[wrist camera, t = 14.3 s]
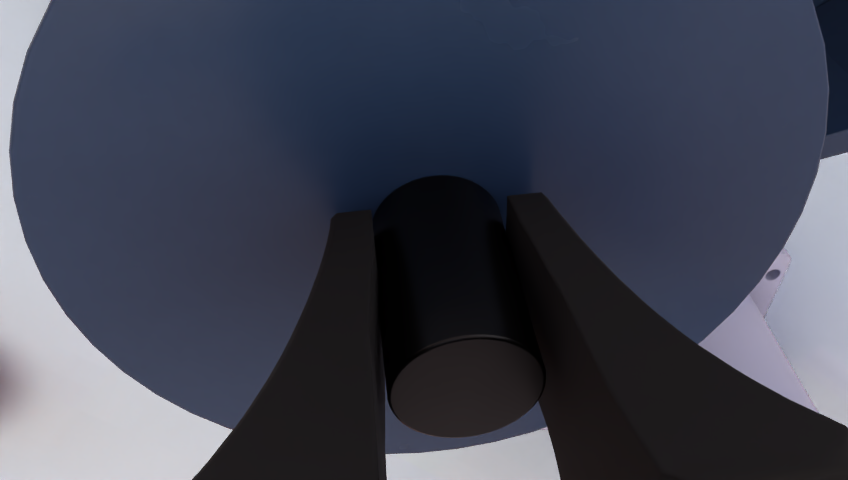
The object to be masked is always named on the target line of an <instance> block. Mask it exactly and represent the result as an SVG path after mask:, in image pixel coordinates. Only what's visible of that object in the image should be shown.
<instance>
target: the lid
mask: <svg viewBox="0 0 848 480" xmlns="http://www.w3.org/2000/svg"><path fill="white" fill-rule="evenodd" d="M828 99H829V83H828V72H827V62H826V52H825V42H824V39H823V35H822V32H821V28H820V24H819V21H818V17H817V14H816V10H815V7H814V3H813V0H51V1H50V3H49V5H48V8H47V10H46V12H45V14H44V16H43V18H42V20H41V22H40V25H39V27H38V29H37V31H36V33H35V35H34V37H33V39H32V42H31V44H30V46H29V48H28V50H27V53H26V56H25V60H24V64H23V68H22V71H21V75H20V79H19V82H18V86H17V90H16V94H15V97H14V101H13V111H12V123H11V134H10V146H9V155H10V166H11V176H12V187H13V197H14V201H15V204H16V208H17V212H18V216H19V219H20V223H21V227H22V230H23V234H24V238H25V241H26V243H27V246H28V248H29V250H30V252H31V254H32V257H33V259H34V261H35V263H36V265H37V267H38V270H39V272H40V274H41V276H42V278H43V280H44V282H45V283H46V285H47V286H48V288H49V290H50V291H51V293H52V294H53V296H54V297H55V299H56V300H57V302H58V303H59V305H60V306H61V308H62V309H63V311H64V312H65V314H66V315H67V316H68V317H69V319H70V320H71V321H72V322H73V323H74V324H75V325H76V327H77V328H78V329H79V330H80V331H81V332H82V333H83V334H84V336H85V337H86V338H87V339H88V340H89V341H90V342H91V344H92V345H93V346H94V347H96V348H97V349H98V350H99V351H100V352H101V353H102V354H104V355H105V356H106V357H107V358H108V359H109V360H110V361H112V362H113V363H114V364H115V365H116V366H117V367H118V368H120V369H121V370H122V371H123V372H124V373H126V374H127V375H129V376H130V377H132V378H133V379H135V380H136V381H137V382H139V383H140V384H142V385H143V386H145V387H146V388H148V389H149V390H151V391H152V392H154V393H155V394H157V395H158V396H160V397H162V398H164V399H166V400H168V401H170V402H171V403H173V404H175V405H177V406H179V407H181V408H183V409H185V410H186V411H188V412H190V413H192V414H195V415H197V416H200V417H202V418H204V419H207V420H209V421H212V422H214V423H217V424H219V425H221V426H224V427H226V428H229V429H232V430H233V429H234V428H235V427H236V425H237V424H238V423H239V421H240V420H241V419H242V417H243V416H244V414H245V413H246V411H247V410H248V409H249V407H250V406H251V404H252V403H253V401H254V399H255V398H256V396H257V395H258V393H259V392H260V390H261V389H262V387H263V386H264V384H265V382H266V381H267V379H268V378H269V376H270V374H271V372H272V371H273V369H274V367H275V366H276V364H277V362H278V360H279V358H280V357H281V355H282V353H283V351H284V349H285V347H286V345H287V343H288V341H289V340H290V338H291V336H292V333H293V331H294V329H295V327H296V325H297V322H298V320H299V318H300V316H301V314H302V311H303V309H304V307H305V305H306V302H307V300H308V298H309V295H310V292H311V289H312V287H313V284H314V281H315V279H316V276H317V273H318V271H319V268H320V264H321V261H322V258H323V255H324V251H325V247H326V244H327V239H328V234H329V229H330V221H331V218H332V217H333V216H334V215H335V214H336V213H343V212H353V211H363V210H371V213H372V223H373V232H374V242H375V251H376V261H377V270H378V299H379V320H380V330H381V340H382V350H383V360H384V370H385V454H399V453H422V452H431V451H441V450H450V449H458V448H464V447H469V446H474V445H480V444H485V443H491V442H496V441H500V440H503V439H507V438H511V437H515V436H519V435H522V434H526V433H530V432H534V431H536V430H539V429H542V428H545V427H547V425H546V422H545V419H544V416H543V414H542V411H541V408H540V405H539V402H538V400H539V399H540V397H541V395H542V393H543V390H544V387H545V384H546V369H545V366H544V362H543V359H542V355H541V352H540V348H539V345H538V342H537V338H536V335H535V331H534V328H533V324H532V321H531V317H530V314H529V311H528V307H527V304H526V300H525V297H524V293H523V290H522V286H521V283H520V280H519V276H518V273H517V269H516V266H515V262H514V259H513V255H512V252H511V249H510V245H509V242H508V238H507V235H506V214H507V196H510V195H519V194H529V193H539V192H542V193H543V194H544V195H545V196H546V197H547V198H548V199H549V200H550V202H551V203H552V204H553V205H554V207H555V208H556V209H557V210H558V212H559V213H560V214H561V215H562V217H563V218H564V219H565V220H566V221H567V223H568V224H569V225H570V226H571V227H572V228H573V230H574V231H575V232H576V233H577V234H578V235H579V236H580V238H581V239H582V240H583V241H584V242H585V243H586V244H587V245H588V247H589V248H590V249H591V250H592V251H593V252H594V253H595V254H596V255H597V256H598V257H599V258H600V259H601V260H602V261H603V262H604V263H605V265H606V266H607V267H608V268H609V269H610V270H611V271H612V272H613V273H614V274H615V275H616V276H617V277H618V278H619V279H620V280H621V281H622V282H623V283H624V284H625V285H627V286H628V287H629V288H630V289H631V290H632V291H633V292H634V293H635V294H636V295H637V296H638V297H640V298H641V299H642V300H643V301H644V302H645V303H646V304H647V305H648V306H650V307H651V308H652V309H653V310H654V311H655V312H657V313H658V314H659V315H660V316H661V317H663V318H664V319H665V320H666V321H668V322H669V323H670V324H671V325H673V326H674V327H675V328H677V329H678V330H679V331H680V332H682V333H683V334H684V335H686V336H687V337H688V338H690V339H691V340H693V341H694V342H695V343H697V344H699V343H700V342H702V341H703V340H704V339H705V338H706V337H707V336H708V335H709V334H711V333H712V332H713V331H714V330H715V329H716V328H717V327H718V326H719V325H720V324H721V323H722V322H723V321H724V320H725V319H727V318H728V317H729V316H730V315H731V314H732V313H733V312H734V311H735V310H736V308H737V307H738V306H739V305H740V304H741V303H742V302H743V300H744V299H745V298H746V297H747V296H748V295H749V294H750V292H751V291H752V290H753V289H754V288H755V287H756V286H757V284H758V283H759V282H760V281H761V279H762V278H763V276H764V275H765V274H766V272H767V271H768V269H769V268H770V266H771V265H772V264H773V262H774V261H775V259H776V258H777V256H778V255H779V253H780V252H781V251H782V249H783V247H784V246H785V244H786V242H787V240H788V238H789V236H790V234H791V233H792V231H793V229H794V227H795V225H796V223H797V221H798V219H799V218H800V216H801V214H802V212H803V209H804V206H805V204H806V201H807V199H808V196H809V193H810V191H811V188H812V185H813V183H814V180H815V177H816V175H817V171H818V167H819V162H820V158H821V153H822V149H823V144H824V140H825V136H826V128H827V113H828Z"/></svg>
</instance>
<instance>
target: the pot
mask: <svg viewBox="0 0 848 480" xmlns="http://www.w3.org/2000/svg"><path fill="white" fill-rule="evenodd" d="M813 3H814V7H815V10H816V14H817V17H818V21H819V24H820V28H821V32H822V35H823V39H824V42H825V52H826V62H827V72H828V83H829V99H828V113H827V128H826V136H825V140H824V144H823V149H822V153H821V158H820V159H824V158H828V157H831V156H835V155H839V154H842V153H846V152H848V0H813Z"/></svg>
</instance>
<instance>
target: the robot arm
mask: <svg viewBox="0 0 848 480" xmlns="http://www.w3.org/2000/svg"><path fill="white" fill-rule="evenodd" d="M506 235H507V238H508V242H509V245H510V249H511V252H512V255H513V259H514V262H515V266H516V269H517V273H518V276H519V280H520V283H521V286H522V290H523V293H524V297H525V300H526V304H527V307H528V311H529V314H530V317H531V321H532V324H533V328H534V331H535V335H536V338H537V342H538V345H539V348H540V352H541V355H542V359H543V362H544V366H545V369H546V384H545V387H544V390H543V393H542V395H541V397H540V399H539V400H538V402H539V405H540V408H541V411H542V414H543V416H544V419H545V422H546V425H547V427H545V428H542V429H540V430H547V429H548V431H549V435H550V438H551V442H552V445H553V449H554V452H555V456H556V461H557V465H558V470H559V474H560V479H561V480H848V428H847V427H846V426H845V425H843V424H840V423H838V422H836V421H834V420H832V419H830V418H828V417H826V416H824V415H821V414H819V412H818V410H817V409H816V407H815V405H814V403H813V402H812V400H811V398H810V397H809V395H808V393H807V391H806V390H805V388H804V386H803V385H802V383H801V381H800V379H799V378H798V376H797V374H796V373H795V371H794V369H793V367H792V366H791V364H790V362H789V361H788V359H787V357H786V355H785V354H784V352H783V350H782V349H781V347H780V345H779V343H778V342H777V340H776V338H775V337H774V335H773V333H772V331H771V330H770V328H769V326H768V325H767V323H766V321H765V319H764V317H765V315H766V313H767V311H768V309H769V306H770V304H771V302H772V300H773V298H774V296H775V294H776V292H777V290H778V288H779V286H780V284H781V282H782V280H783V277H784V275H785V273H786V271H787V269H788V267H789V265H790V263H791V257H790V255H789V253H788V252H787V250H785V249H784V248H783V249H782V251H781V252H780V253H779V255H778V256H777V258H776V259H775V261H774V262H773V264H772V265H771V266H770V268H769V269H768V271H767V272H766V274H765V275H764V276H763V278H762V279H761V281H760V282H759V283H758V284H757V286H756V287H755V288H754V289H753V290H752V291H751V292H750V294H749V295H748V296H747V297H746V298H745V299H744V300H743V302H742V303H741V304H740V305H739V306H738V307H737V308H736V310H735V311H734V312H733V313H732V314H731V315H730V316H729V317H728V318H727V319H725V320H724V321H723V322H722V323H721V324H720V325H719V326H718V327H717V328H716V329H715V330H714V331H713V332H712V333H711V334H709V335H708V336H707V337H706V338H705V339H704V340H703V341H702V342H700V343H699V344H697V343H695V342H694V341H693V340H691V339H690V338H688V337H687V336H686V335H684V334H683V333H682V332H680V331H679V330H678V329H677V328H675V327H674V326H673V325H671V324H670V323H669V322H668V321H666V320H665V319H664V318H663V317H661V316H660V315H659V314H658V313H657V312H655V311H654V310H653V309H652V308H651V307H650V306H648V305H647V304H646V303H645V302H644V301H643V300H642V299H641V298H640V297H638V296H637V295H636V294H635V293H634V292H633V291H632V290H631V289H630V288H629V287H628V286H627V285H625V284H624V283H623V282H622V281H621V280H620V279H619V278H618V277H617V276H616V275H615V274H614V273H613V272H612V271H611V270H610V269H609V268H608V267H607V266H606V265H605V263H604V262H603V261H602V260H601V259H600V258H599V257H598V256H597V255H596V254H595V253H594V252H593V251H592V250H591V249H590V248H589V247H588V245H587V244H586V243H585V242H584V241H583V240H582V239H581V238H580V236H579V235H578V234H577V233H576V232H575V231H574V230H573V228H572V227H571V226H570V225H569V224H568V223H567V221H566V220H565V219H564V218H563V217H562V215H561V214H560V213H559V212H558V210H557V209H556V208H555V207H554V205H553V204H552V203H551V202H550V200H549V199H548V198H547V197H546V196H545V195H544V194H543V193H542V192H539V193H529V194H519V195H510V196H507V214H506ZM771 270H772V271H771ZM769 271H770V272H769ZM192 480H387V477H386V458H385V370H384V360H383V350H382V340H381V330H380V320H379V299H378V270H377V261H376V251H375V242H374V232H373V223H372V213H371V210H363V211H353V212H343V213H336V214H335V215H334V216H333V217H332V218H331V221H330V229H329V234H328V239H327V244H326V247H325V251H324V255H323V258H322V261H321V264H320V268H319V271H318V273H317V276H316V279H315V281H314V284H313V287H312V289H311V292H310V295H309V298H308V300H307V302H306V305H305V307H304V309H303V311H302V314H301V316H300V318H299V320H298V322H297V325H296V327H295V329H294V331H293V333H292V336H291V338H290V340H289V341H288V343H287V345H286V347H285V349H284V351H283V353H282V355H281V357H280V358H279V360H278V362H277V364H276V366H275V367H274V369H273V371H272V372H271V374H270V376H269V378H268V379H267V381H266V382H265V384H264V386H263V387H262V389H261V390H260V392H259V393H258V395H257V396H256V398H255V399H254V401H253V403H252V404H251V406H250V407H249V409H248V410H247V411H246V413H245V414H244V416H243V417H242V419H241V420H240V421H239V423H238V424H237V425H236V427H235V428H234V429H233V431H232V432H231V433H230V434H229V436H228V437H227V438H226V439H225V441H224V442H223V443H222V445H221V446H220V447H219V448H218V450H217V451H216V452H215V454H214V455H213V456H212V457H211V459H210V460H209V461H208V462H207V463H206V465H205V466H204V467H203V468H202V469H201V470H200V472H199V473H198V474H197V475H196V476H195V477H194V478H193V479H192Z"/></svg>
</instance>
